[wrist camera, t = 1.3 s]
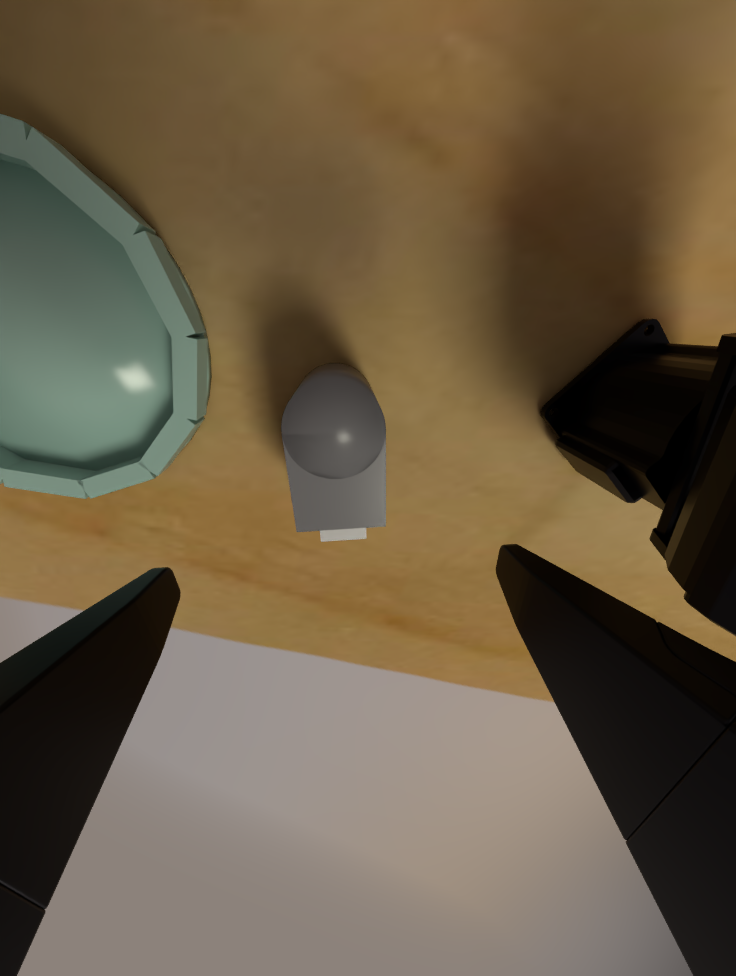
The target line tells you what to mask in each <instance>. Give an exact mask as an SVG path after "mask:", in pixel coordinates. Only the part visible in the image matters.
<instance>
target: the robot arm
mask: <svg viewBox="0 0 736 976" xmlns="http://www.w3.org/2000/svg"><path fill="white" fill-rule="evenodd" d="M646 327H647V328H648V329H647V332H646V333H645V334H644V330H645V328H646ZM553 408H554V412H553V413H552V414H551V415H549V412H550V411H551V409H553ZM541 417H542V418H543V420H544V421H545V422H546V423H547V425H548V426H549V427H550V429H551V430H552V431H553V432H554V434H555V435H556V436H557V437H558V439H557V440H556V446H557V448H558V449H559V450H560V451H561V453H562V454H563V455H564V456H565V458H566V459H567V460H568V461H569V463H570V464H571V465H572V466H573V468H574V469H575V470H576V471H577V472H579V473H580V474H582V475H583V476H585V477H587V478H588V479H590V480H591V481H593V482H595V483H596V484H598V485H599V486H601V487H603V488H604V489H606V490H607V491H609V492H611V493H612V494H614V495H615V496H617V497H619V498H620V499H622V500H623V501H625V502H627V503H635V502H637V501H638V500H640V499H641V498H643V499H645V500H646V501H648V502H650V503H652V504H653V505H655V506H657V507H658V508H660V509H662V510H663V511H662V514H661V517H660V519H659V522H658V525H657V528H654V529H653V531H652V533H651V536H650V541H651V542H652V543H653V545H654V546H655V547H656V549H657V550H658V551H659V553H660V554H661V555H662V556H663V558H664V559H665V560H666V563H667V568H668V570H669V572H670V573H671V574H672V576H673V577H674V578H675V579H676V581H677V582H678V583H679V585H680V586H681V587H682V588H683V589H684V590H685V591H686V592H685V594H684V599H685V600H686V602H687V603H688V604H690V605H691V606H692V607H693V608H694V609H696V610H697V611H698V612H700V613H701V614H702V615H704V616H705V617H706V618H708V619H709V620H710V621H711V622H713V623H715V624H716V625H718V626H720V627H721V628H723V629H725V630H726V631H728V632H730V633H731V634H733V635H735V636H736V333H731V334H724V335H722V337H721V339H720V342H719V345H718V346H703V345H686V344H670V343H669V341H668V339H667V337H666V335H665V333H664V331H663V329H662V327H661V325H660V323H659V322H658V321H657V320H656V319H643V320H641V321H640V322H638V323H637V324H636V325H635V326H634V327H632V328H631V329H630V330H629V331H628V332H627V333H626V334H625V335H623V336H622V337H621V338H620V339H619V340H618V341H617V342H615V343H614V344H613V345H612V346H611V347H610V348H609V349H607V350H606V351H605V352H604V353H603V354H602V355H601V356H600V357H598V358H597V359H596V360H595V361H594V362H593V363H592V364H590V365H589V366H588V367H587V368H586V369H585V370H584V371H583V372H581V373H580V374H579V375H578V376H577V377H576V378H575V379H573V380H572V381H571V382H570V383H569V384H568V385H567V386H566V387H564V388H563V389H562V390H561V391H560V392H559V393H558V394H556V395H555V396H554V397H553V398H552V399H551V400H550V401H548V402H547V403H546V404H545V405H544V406H543V407H542V410H541ZM496 574H497V578H498V580H499V583H500V585H501V588H502V591H503V593H504V596H505V599H506V601H507V604H508V606H509V609H510V612H511V614H512V617H513V619H514V622H515V624H516V627H517V629H518V631H519V633H520V635H521V637H522V639H523V641H524V643H525V645H526V647H527V649H528V651H529V653H530V655H531V657H532V658H533V660H534V662H535V664H536V666H537V668H538V670H539V672H540V674H541V676H542V678H543V680H544V682H545V684H546V686H547V688H548V690H549V692H550V694H551V696H552V698H553V700H554V702H555V704H556V706H557V708H558V710H559V712H560V714H561V716H562V717H563V720H564V721H565V723H566V725H567V727H568V729H569V731H570V733H571V735H572V737H573V739H574V741H575V743H576V745H577V747H578V749H579V751H580V753H581V755H582V757H583V759H584V761H585V763H586V765H587V767H588V769H589V771H590V773H591V774H592V776H593V779H594V781H595V782H596V784H597V786H598V788H599V790H600V792H601V794H602V796H603V798H604V800H605V802H606V804H607V806H608V808H609V810H610V812H611V814H612V816H613V818H614V820H615V822H616V824H617V826H618V828H619V830H620V832H621V834H622V836H623V838H624V839H625V840H627V841H626V844H627V846H628V848H629V850H630V852H631V854H632V856H633V858H634V860H635V862H636V864H637V866H638V868H639V870H640V872H641V873H642V876H643V878H644V880H645V882H646V883H647V885H648V887H649V889H650V891H651V893H652V895H653V897H654V899H655V901H656V903H657V905H658V907H659V909H660V911H661V913H662V915H663V917H664V919H665V921H666V923H667V925H668V927H669V929H670V931H671V933H672V935H673V937H674V938H675V940H676V942H677V945H678V946H679V948H680V950H681V952H682V954H683V956H684V958H685V960H686V962H687V964H688V966H689V968H690V970H691V972H692V974H693V976H736V662H735V661H733V660H731V659H729V658H727V657H725V656H723V655H721V654H719V653H717V652H715V651H713V650H711V649H709V648H707V647H705V646H703V645H701V644H699V643H697V642H695V641H694V640H692V639H690V638H688V637H686V636H684V635H682V634H680V633H678V632H677V631H675V630H673V629H671V628H669V627H668V626H666V625H664V624H662V623H660V622H656V620H655V619H653V618H651V617H649V616H647V615H645V614H644V613H642V612H640V611H638V610H636V609H635V608H633V607H631V606H629V605H627V604H625V603H624V602H622V601H620V600H618V599H616V598H614V597H613V596H611V595H609V594H607V593H605V592H603V591H602V590H600V589H598V588H596V587H594V586H592V585H591V584H589V583H587V582H585V581H583V580H581V579H580V578H578V577H576V576H574V575H572V574H571V573H569V572H567V571H565V570H563V569H561V568H560V567H558V566H556V565H554V564H552V563H550V562H549V561H547V560H545V559H543V558H541V557H539V556H538V555H536V554H534V553H532V552H530V551H528V550H527V549H525V548H523V547H521V546H519V545H517V544H507V545H502V546H501V547H500V550H499V555H498V560H497V565H496ZM179 600H180V589H179V586H178V583H177V581H176V578H175V576H174V573H173V571H172V570H171V569H170V568H168V567H163V568H153V569H151V570H149V571H147V572H146V573H144V574H143V575H141V576H139V577H138V578H136V579H135V580H133V581H131V582H130V583H128V584H126V585H125V586H123V587H122V588H120V589H118V590H117V591H115V592H114V593H112V594H110V595H109V596H107V597H106V598H104V599H102V600H101V601H99V602H98V603H96V604H94V605H93V606H91V607H89V608H88V609H86V610H85V611H83V612H81V613H80V614H78V615H77V616H75V617H74V618H72V619H70V620H69V621H67V622H65V623H64V624H62V625H61V626H59V627H57V628H56V629H54V630H53V631H51V632H49V633H48V634H46V635H44V636H43V637H41V638H40V639H38V640H36V641H35V642H33V643H32V644H30V645H28V646H27V647H25V648H24V649H22V650H20V651H19V652H17V653H16V654H14V655H12V656H11V657H9V658H8V659H6V660H4V661H3V662H1V663H0V976H17V974H18V972H19V970H20V968H21V965H22V963H23V961H24V959H25V956H26V954H27V952H28V950H29V947H30V945H31V943H32V941H33V939H34V936H35V934H36V932H37V929H38V927H39V925H40V923H41V921H42V919H43V917H44V914H45V909H46V908H47V906H48V905H49V902H50V900H51V898H52V896H53V893H54V891H55V889H56V887H57V885H58V882H59V880H60V878H61V875H62V873H63V871H64V869H65V867H66V865H67V862H68V860H69V858H70V856H71V854H72V851H73V849H74V847H75V845H76V843H77V840H78V838H79V836H80V834H81V831H82V829H83V827H84V825H85V823H86V820H87V818H88V816H89V814H90V811H91V809H92V807H93V805H94V803H95V800H96V798H97V796H98V794H99V792H100V789H101V787H102V785H103V783H104V780H105V778H106V776H107V774H108V771H109V769H110V767H111V765H112V763H113V760H114V758H115V756H116V754H117V752H118V749H119V747H120V745H121V743H122V740H123V738H124V736H125V734H126V732H127V729H128V727H129V725H130V723H131V721H132V718H133V716H134V714H135V712H136V709H137V707H138V705H139V703H140V701H141V698H142V696H143V694H144V692H145V689H146V687H147V685H148V683H149V681H150V678H151V676H152V674H153V672H154V669H155V667H156V665H157V663H158V660H159V658H160V656H161V653H162V650H163V648H164V645H165V642H166V639H167V636H168V633H169V630H170V627H171V624H172V621H173V618H174V615H175V612H176V609H177V606H178V603H179Z"/></svg>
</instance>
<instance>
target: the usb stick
mask: <svg viewBox="0 0 736 976" xmlns="http://www.w3.org/2000/svg"><path fill="white" fill-rule="evenodd" d="M281 431H282V439H283V446H284V452H285V459H286V465H287V472H288V478H289V485H290V491H291V498H292V504H293V511H294V517H295V524H296V530H297V532H307V531H320V536H321V542H324V541H339V540H354V539H366V528H369V527H385V526H386V426H385V419H384V416H383V413H382V410H381V408H380V406H379V404H378V402H377V399H376V397H375V395H374V393H373V391H372V389H371V387H370V385H369V383H368V381H367V380H366V378H365V377H364V376H363V375H362V374H361V373H360V372H359V371H357V370H356V369H354V368H352V367H350V366H348V365H345V364H340V363H329V364H324V365H321V366H319V367H317V368H315V369H313V370H312V371H311V372H310V373H309V374H308V375H307V376H306V377H305V378H304V380H303V381H302V382H301V384H300V385H299V387H298V389H297V390H296V392H295V393H294V395H293V396H292V398H291V399H290V401H289V402H288V404H287V406H286V408H285V410H284V413H283V417H282V424H281Z"/></svg>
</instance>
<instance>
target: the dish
mask: <svg viewBox="0 0 736 976" xmlns="http://www.w3.org/2000/svg"><path fill="white" fill-rule="evenodd" d="M155 233H156V231H155V230H154V229H153V228H151V227H150V226H149V225H148V224H147V223H146V222H145V220H144V219H143V218H142V217H141V216H140V215H139V214H138V213H137V212H136V211H135V210H134V209H133V208H132V207H131V206H130V205H129V204H128V203H127V202H126V201H125V200H124V199H123V198H122V197H121V196H120V195H119V194H117V193H116V192H115V191H114V190H113V189H111V188H110V187H109V186H108V185H107V184H105V183H104V182H103V181H102V180H101V179H99V178H98V177H97V176H96V175H94V174H93V173H91V172H90V171H89V170H88V169H87V168H86V167H85V166H83V165H82V164H81V163H80V162H79V161H78V160H77V159H76V158H75V157H74V156H73V155H71V154H70V153H69V152H68V151H67V150H66V149H65V148H64V147H63V146H62V145H60V144H59V143H57V142H56V141H54V140H52V139H51V138H49V137H48V136H46V135H45V134H43V133H41V132H40V131H38V130H37V129H35V128H34V127H32V126H30V125H29V124H27V123H25V122H24V121H21V120H18V119H15V118H12V117H9V116H6V115H3V114H0V484H1V483H4V485H5V487H10V488H17V489H23V490H30V491H37V492H43V493H50V494H57V495H63V496H70V497H77V498H83V499H86V498H88V497H90V498H94V497H97V496H100V495H104V494H107V493H110V492H113V491H116V490H119V489H123V488H126V487H129V486H132V485H135V484H139V483H142V482H145V481H148V480H151V479H154V478H155V477H157V476H158V475H160V474H161V473H162V472H163V471H164V470H166V469H167V468H168V467H169V466H170V465H171V463H172V462H173V461H174V459H175V458H176V457H177V455H178V454H179V453H180V451H182V449H183V448H184V447H185V446H186V445H187V444H188V443H189V441H190V440H191V439H192V437H193V436H194V434H195V433H196V431H197V429H198V428H199V426H200V424H201V423H202V422H203V420H204V419H205V418H204V415H206V408H207V404H208V400H209V396H210V387H211V355H210V350H209V344H208V338H207V333H206V330H205V326H204V323H203V320H202V316H201V313H200V310H199V308H198V305H197V303H196V301H195V298H194V296H193V293H192V291H191V289H190V287H189V285H188V283H187V281H186V279H185V278H184V276H183V274H182V272H181V270H180V268H179V266H178V265H177V263H176V262H175V260H174V259H173V257H172V256H171V254H170V253H169V251H168V250H167V248H166V247H165V245H164V243H163V241H162V239H161V238H159V237H158V236H157V235H156V234H155Z"/></svg>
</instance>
